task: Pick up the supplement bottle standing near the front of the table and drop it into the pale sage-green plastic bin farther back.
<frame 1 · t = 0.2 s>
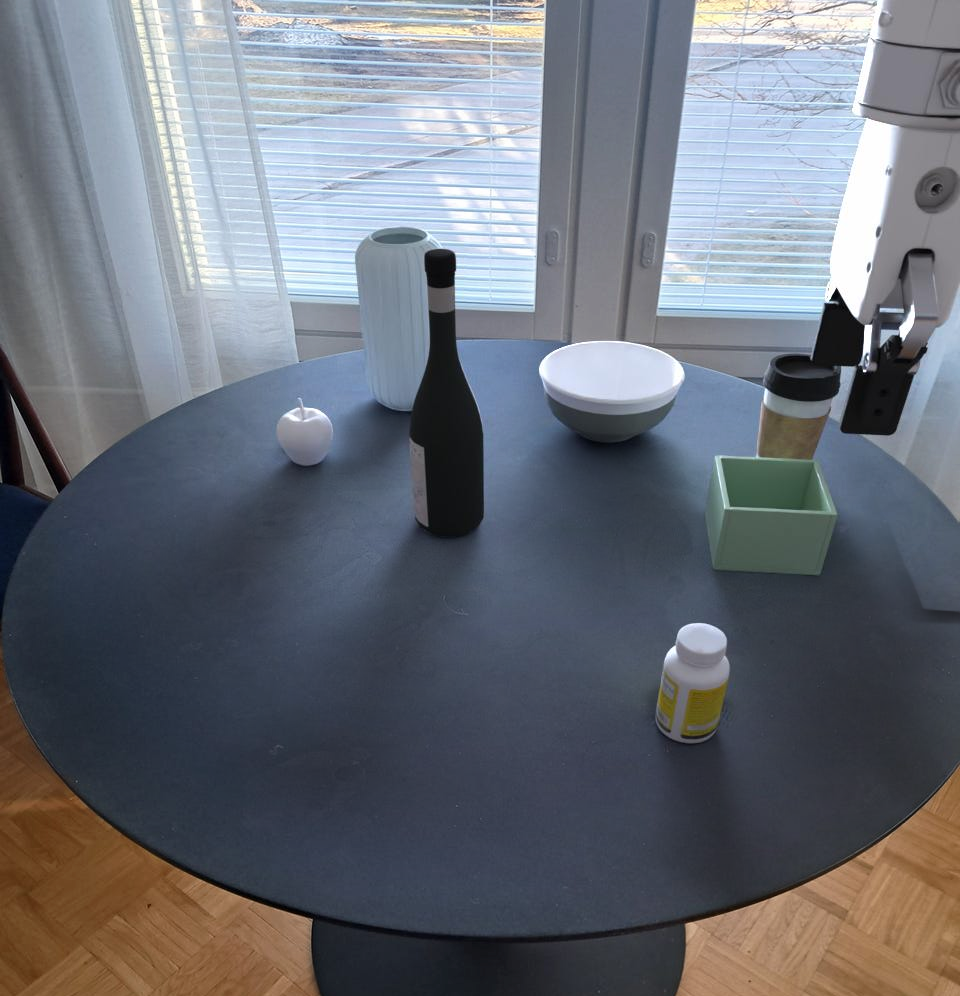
hand: (849, 396, 57), 32 cm above the table, tool pointing down, fingers open, 9 cm apart
coffee cup: (777, 481, 111), on the table
supplement bottle: (685, 724, 79), on the table
plain white apple: (308, 459, 116), on the table
vase: (408, 400, 129), on the table
bin: (759, 543, 100), on the table
wine bottle: (449, 523, 104), on the table
bowl: (606, 428, 122), on the table
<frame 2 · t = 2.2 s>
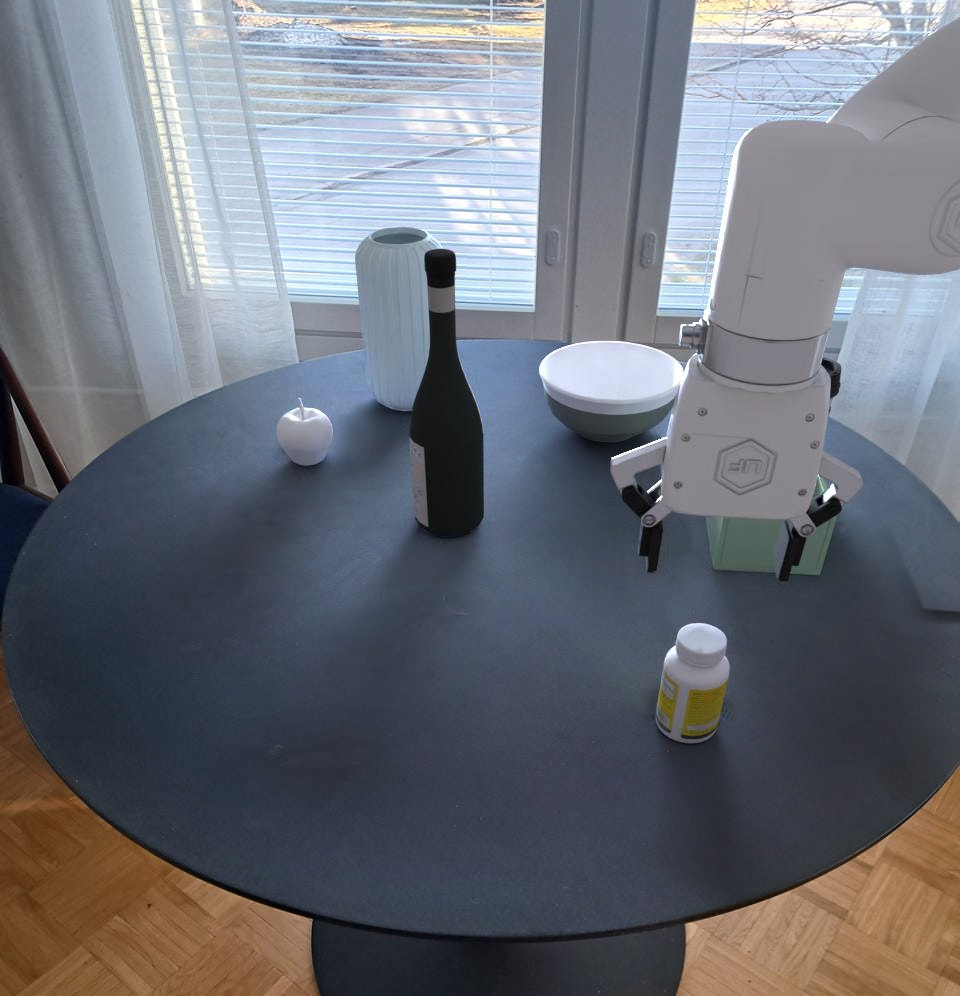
hand: (714, 566, 68), 17 cm above the table, tool pointing down, fingers open, 9 cm apart
nothing on the table moved.
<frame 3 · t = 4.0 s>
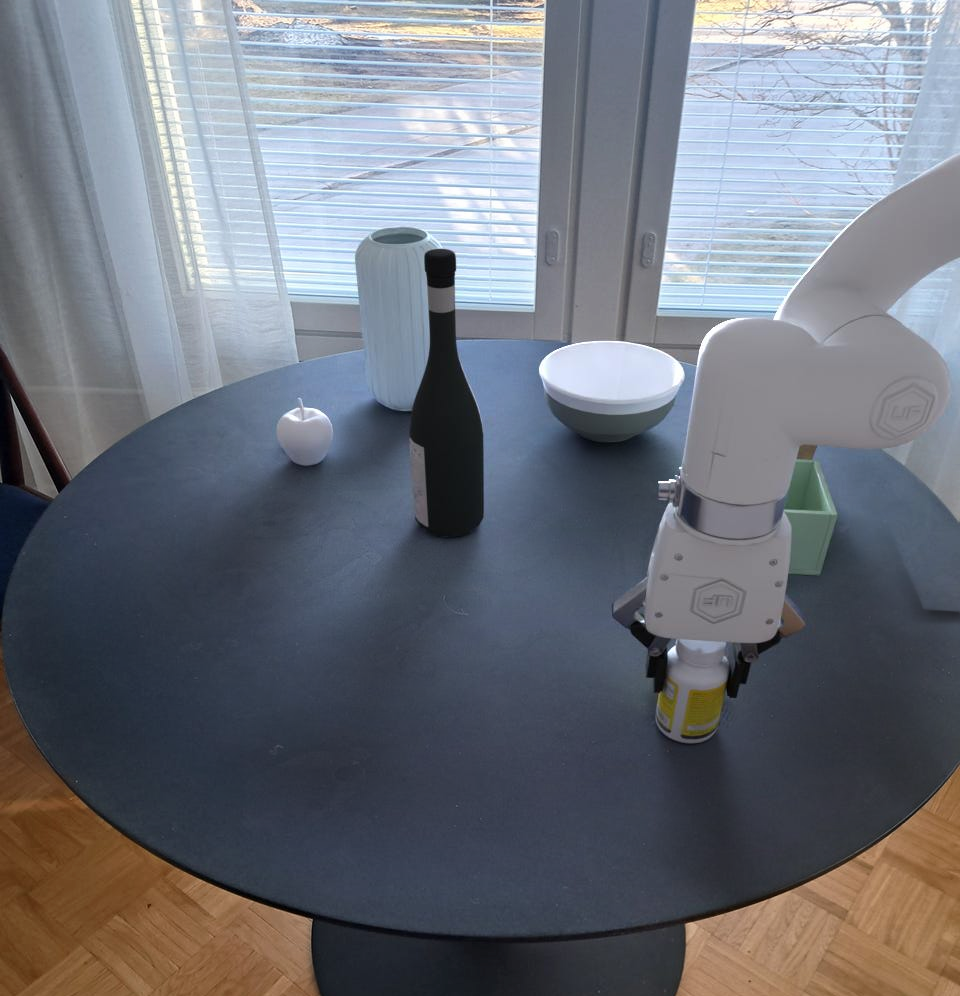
hand: (693, 682, 76), 5 cm above the table, tool pointing down, fingers closed on supplement bottle, 5 cm apart
supplement bottle: (685, 724, 79), on the table, touching gripper
everything else where it was.
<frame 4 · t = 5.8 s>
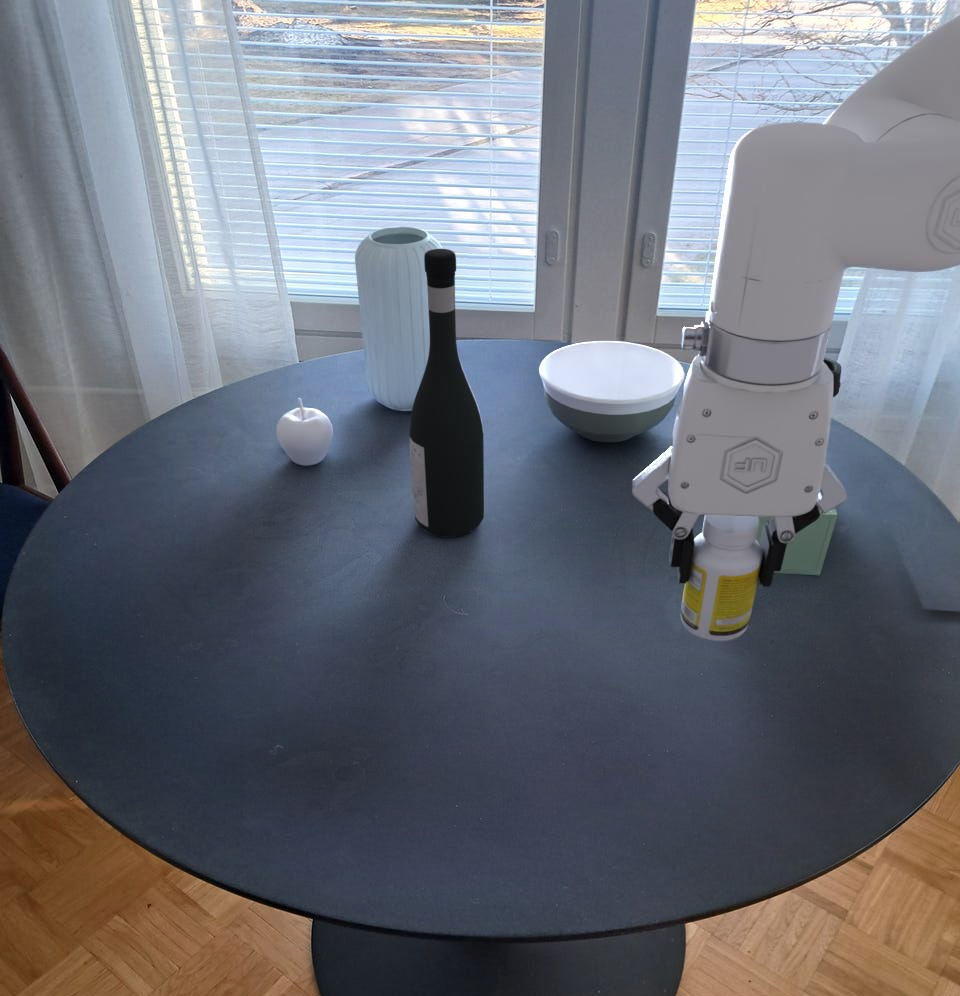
hand: (722, 572, 69), 16 cm above the table, tool pointing down, fingers closed on supplement bottle, 5 cm apart
supplement bottle: (713, 623, 73), point 11 cm above the table, touching gripper
everything else where it was.
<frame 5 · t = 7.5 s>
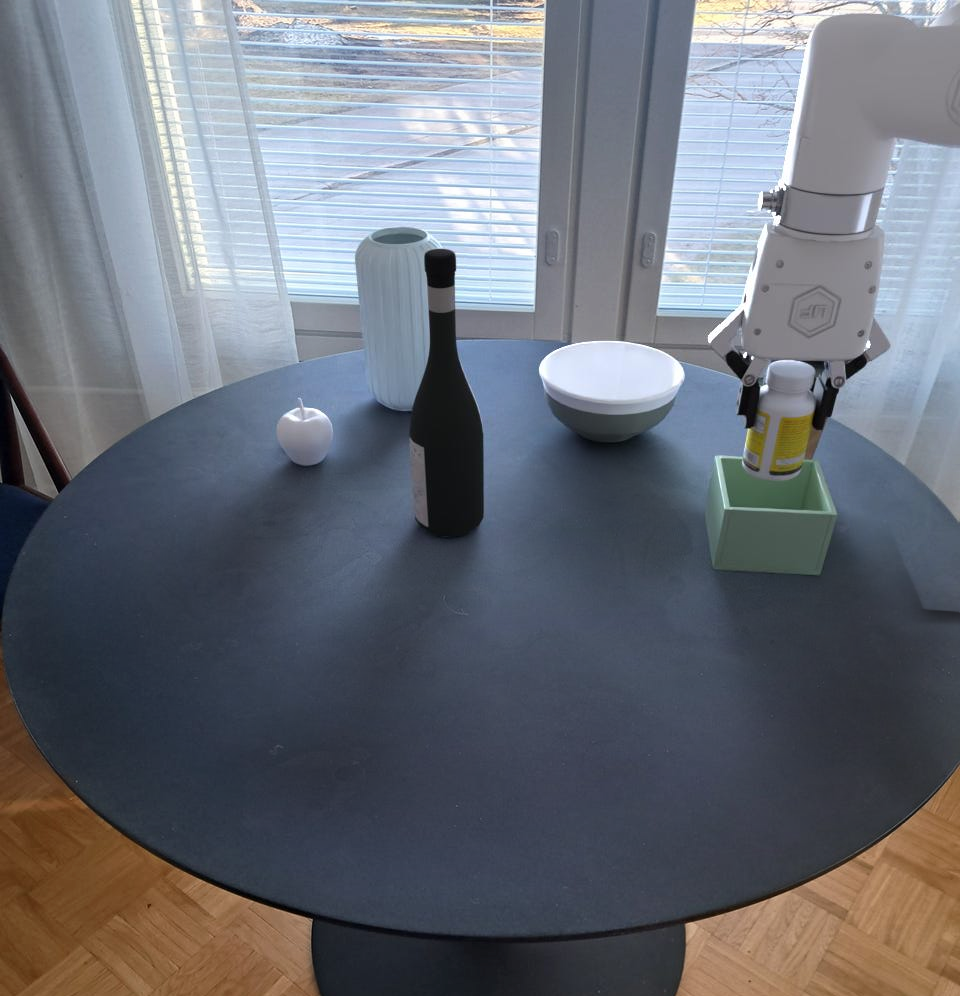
hand: (781, 420, 81), 19 cm above the table, tool pointing down, fingers closed on supplement bottle, 5 cm apart
supplement bottle: (770, 470, 85), point 14 cm above the table, touching gripper
everything else where it was.
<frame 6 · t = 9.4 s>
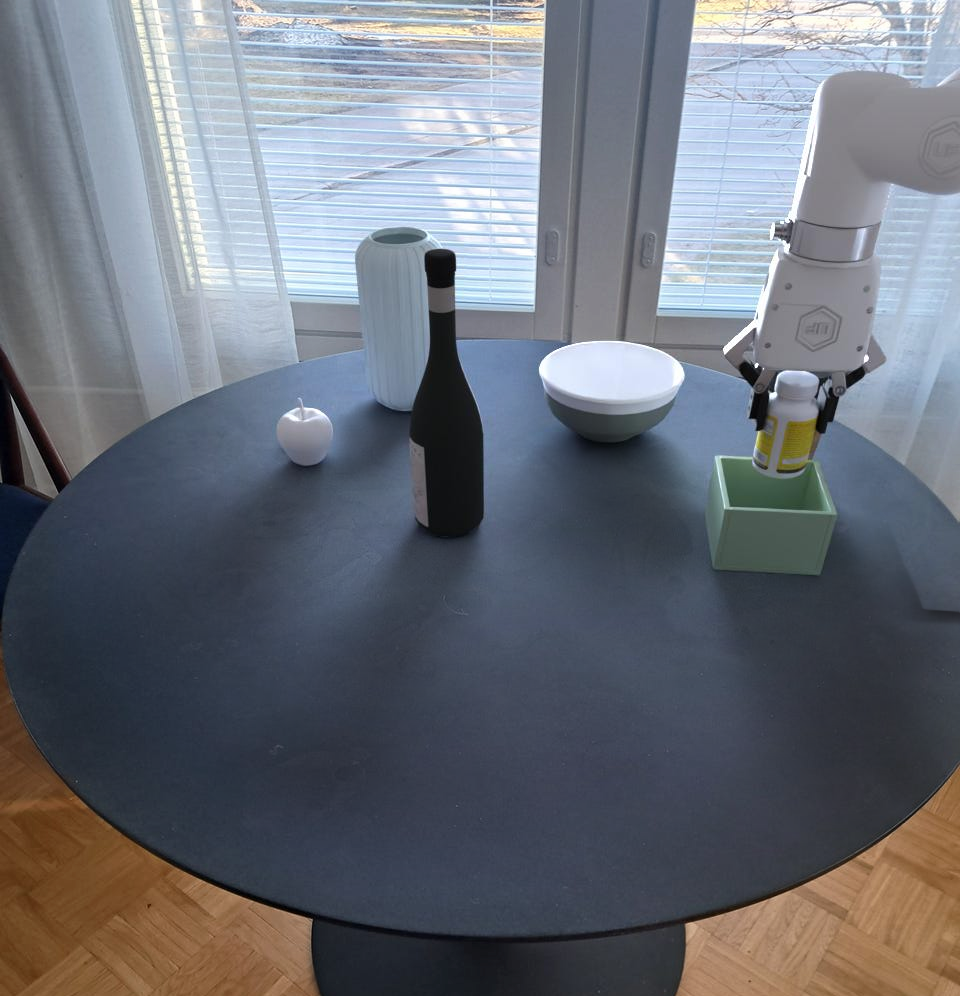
hand: (787, 424, 91), 14 cm above the table, tool pointing down, fingers closed on supplement bottle, 5 cm apart
supplement bottle: (777, 468, 94), point 9 cm above the table, touching gripper
everything else where it was.
when the fingers open (11 cm above the table, at t = 10.9 s): supplement bottle drops 5 cm, resting on bin.
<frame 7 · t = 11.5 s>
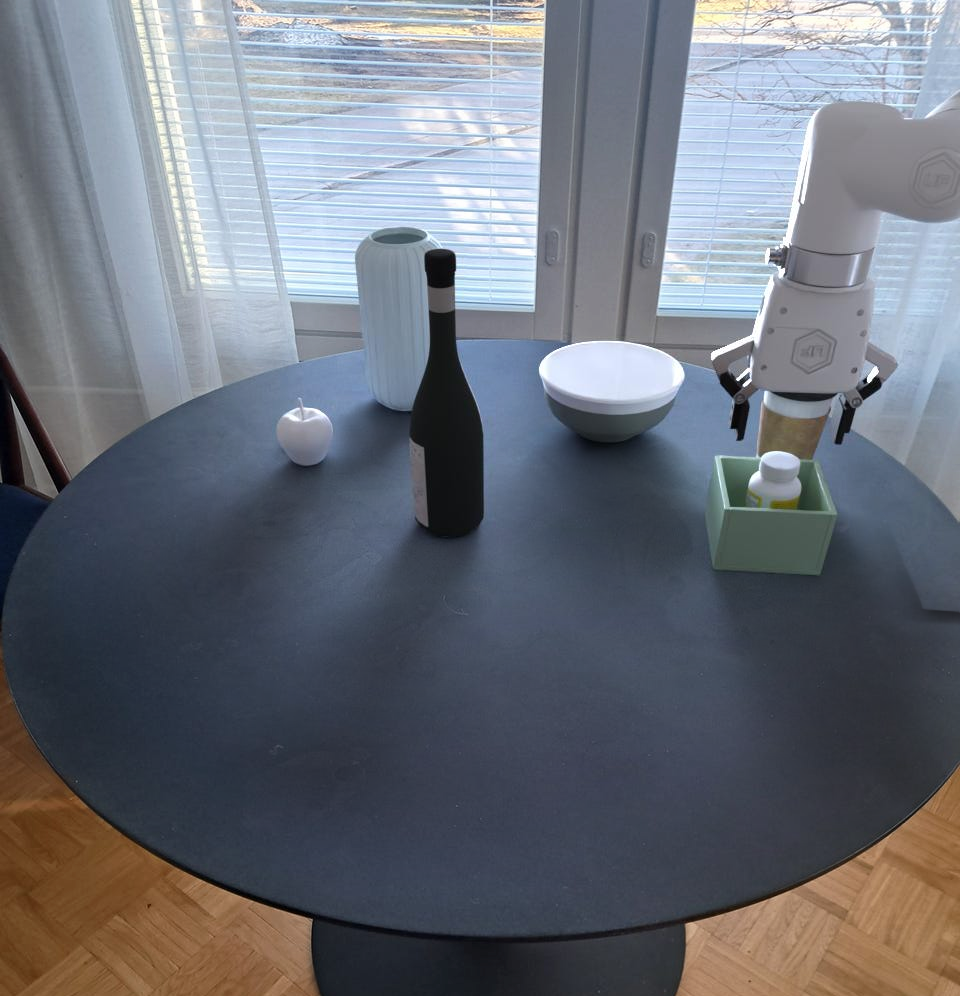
hand: (786, 436, 92), 13 cm above the table, tool pointing down, fingers open, 9 cm apart
supplement bottle: (762, 540, 100), resting on bin
everything else where it was.
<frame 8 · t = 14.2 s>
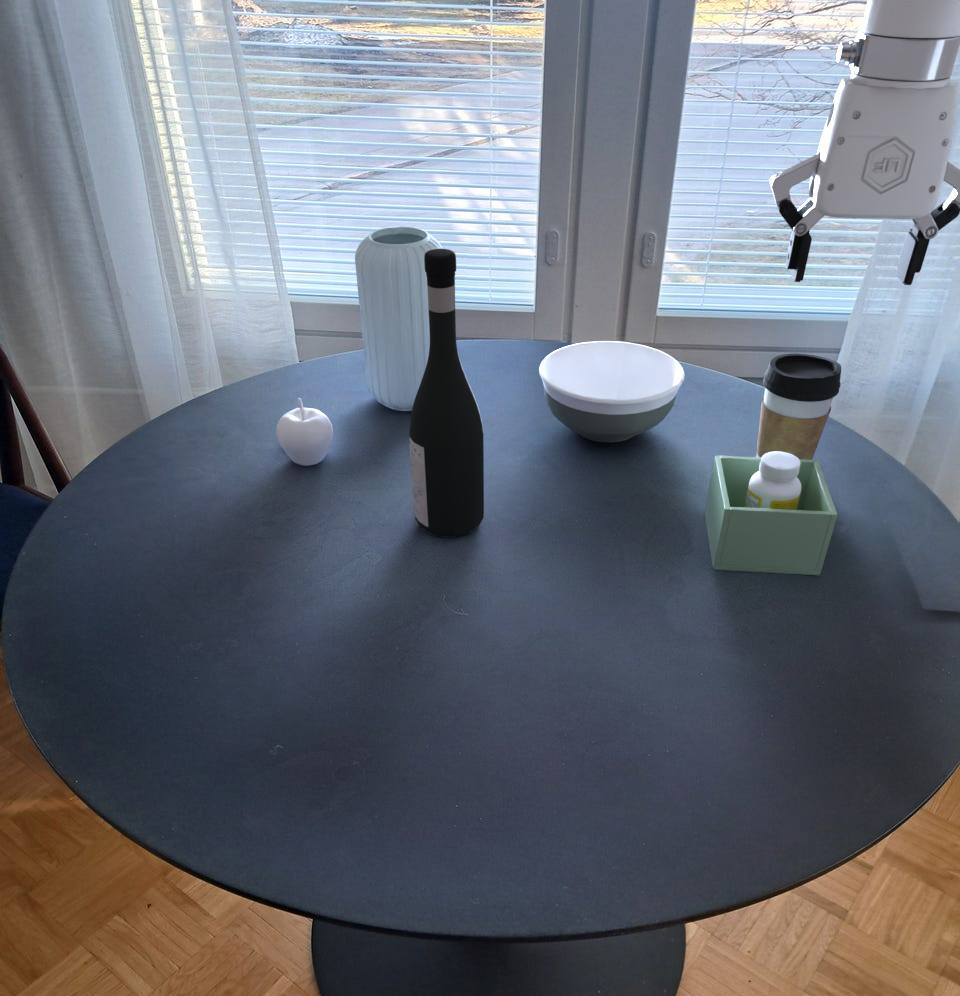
hand: (849, 278, 83), 28 cm above the table, tool pointing down, fingers open, 9 cm apart
nothing on the table moved.
at the end: supplement bottle inside the target area in the bin (0.2 cm from its centre), point 0.4 cm above the bin's base; the gripper is holding nothing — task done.
